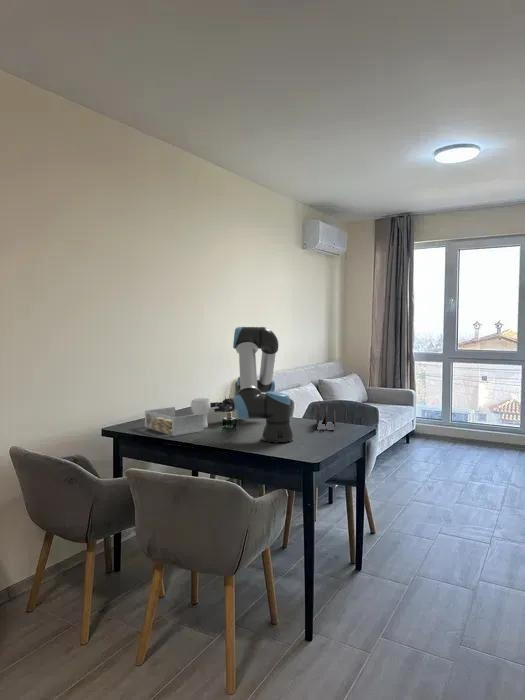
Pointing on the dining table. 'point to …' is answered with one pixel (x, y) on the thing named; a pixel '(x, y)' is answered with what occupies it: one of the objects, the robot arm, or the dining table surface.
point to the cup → (201, 408)
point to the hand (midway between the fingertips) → (201, 409)
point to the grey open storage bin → (175, 421)
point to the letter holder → (325, 415)
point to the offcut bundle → (162, 424)
